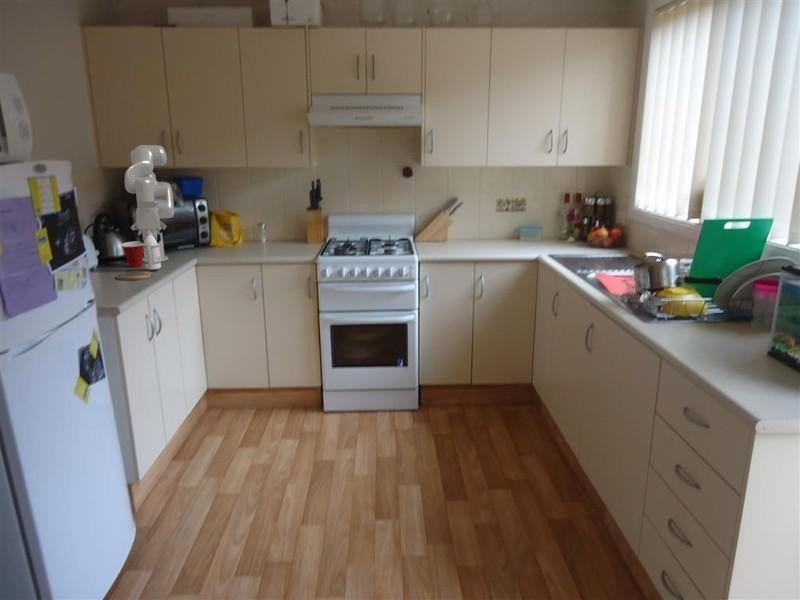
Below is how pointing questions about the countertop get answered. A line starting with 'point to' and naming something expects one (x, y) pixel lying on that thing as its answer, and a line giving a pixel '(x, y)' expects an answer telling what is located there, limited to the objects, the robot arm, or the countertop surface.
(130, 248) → the plastic cup
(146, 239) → the bath foam
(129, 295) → the countertop surface
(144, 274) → the coaster
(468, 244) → the countertop surface
